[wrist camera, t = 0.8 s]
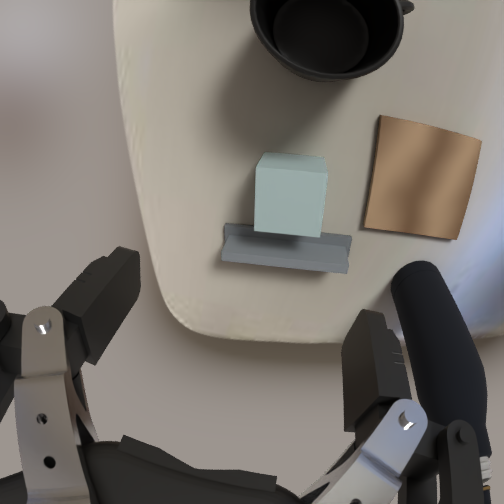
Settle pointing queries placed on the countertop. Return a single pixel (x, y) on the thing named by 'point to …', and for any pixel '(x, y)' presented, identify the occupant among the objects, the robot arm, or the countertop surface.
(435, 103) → the countertop surface
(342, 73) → the mug
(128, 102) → the countertop surface
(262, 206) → the letter cube
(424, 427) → the robot arm
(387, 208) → the coaster
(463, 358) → the wine bottle
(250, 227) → the grey angle bar
